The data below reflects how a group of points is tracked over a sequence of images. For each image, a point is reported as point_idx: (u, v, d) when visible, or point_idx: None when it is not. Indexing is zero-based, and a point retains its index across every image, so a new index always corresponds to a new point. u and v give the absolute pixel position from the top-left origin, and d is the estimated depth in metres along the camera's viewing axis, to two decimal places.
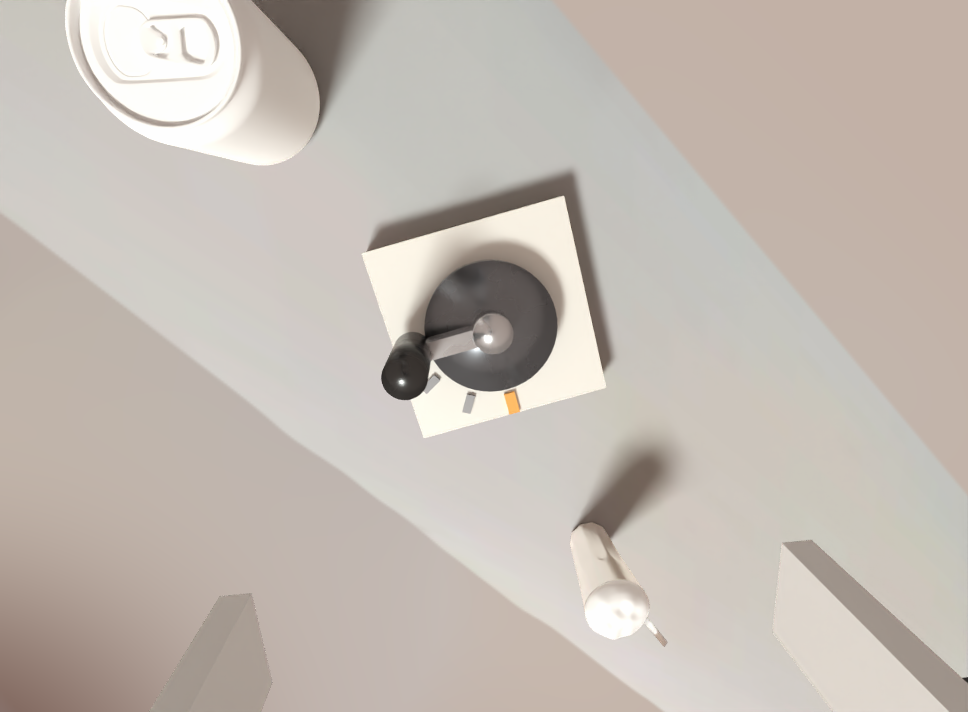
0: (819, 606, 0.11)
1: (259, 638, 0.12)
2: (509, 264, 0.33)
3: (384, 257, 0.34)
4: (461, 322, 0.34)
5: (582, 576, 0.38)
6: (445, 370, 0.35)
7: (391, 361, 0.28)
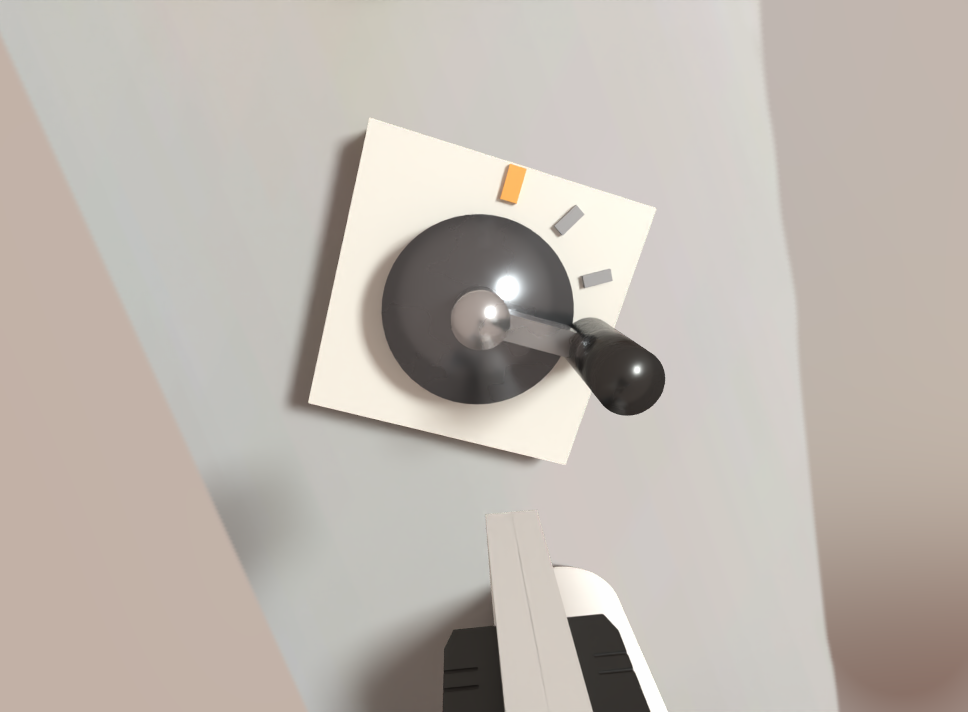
0: None
1: None
2: (411, 376, 0.24)
3: (545, 448, 0.28)
4: (509, 343, 0.24)
5: None
6: (568, 295, 0.24)
7: (629, 413, 0.19)
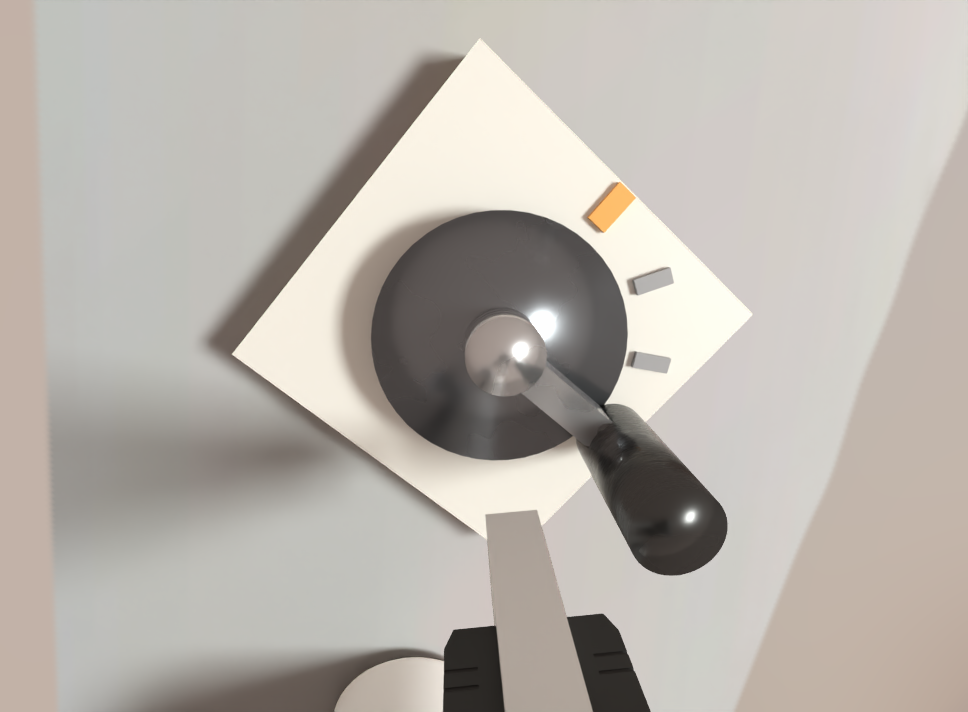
0: None
1: None
2: (381, 382, 0.18)
3: None
4: (520, 395, 0.18)
5: None
6: (615, 370, 0.18)
7: (657, 570, 0.14)
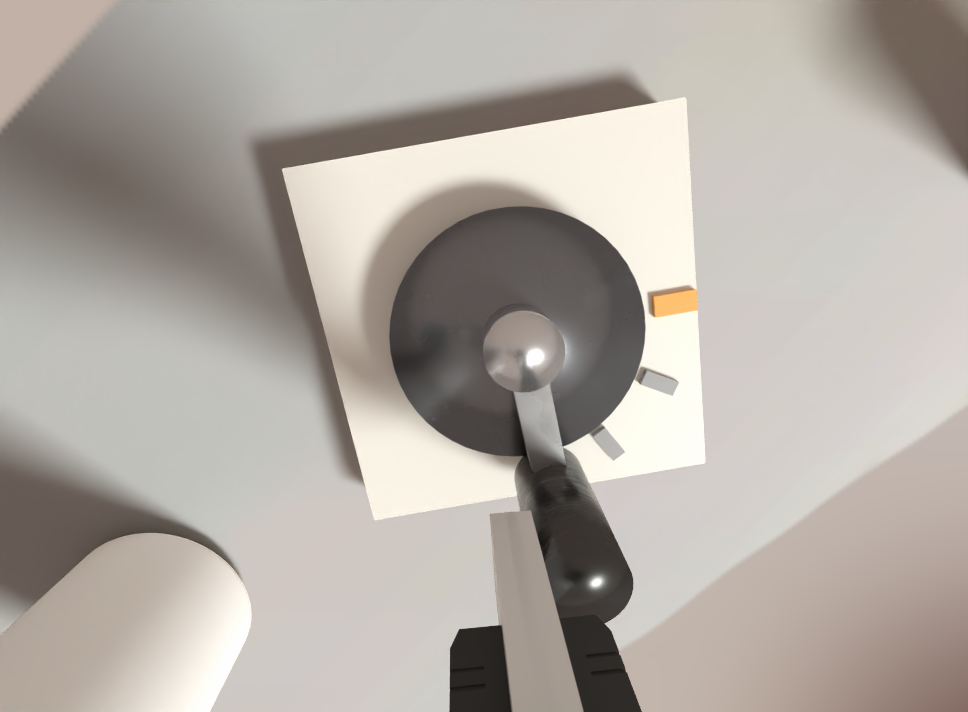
0: None
1: None
2: (395, 302, 0.17)
3: (382, 488, 0.21)
4: (502, 393, 0.18)
5: None
6: (591, 424, 0.19)
7: None
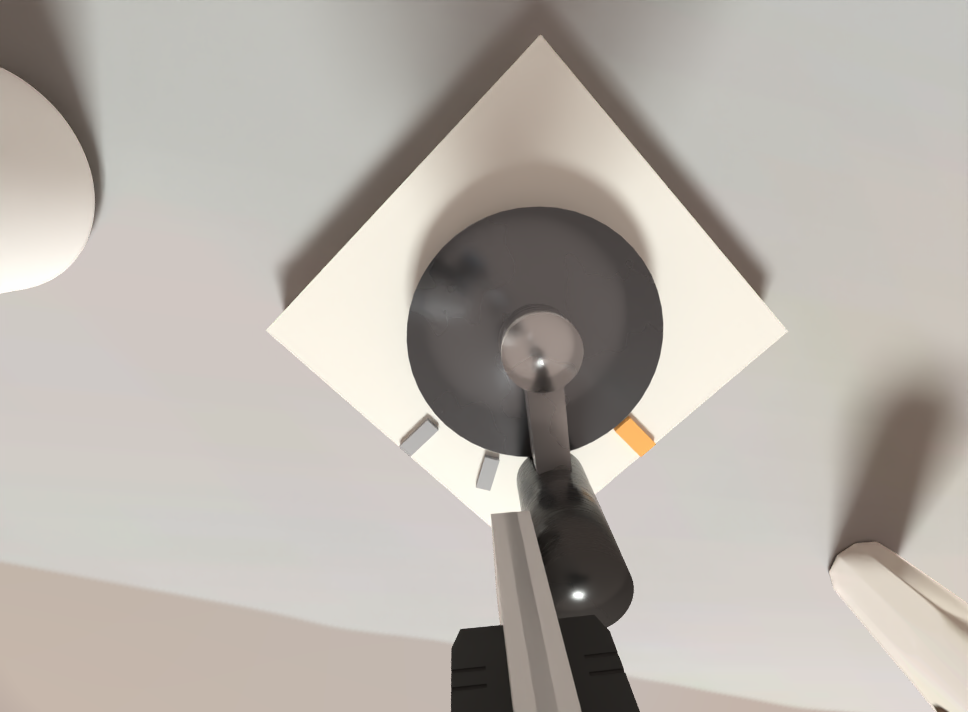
0: None
1: None
2: (417, 291, 0.17)
3: (303, 316, 0.19)
4: (514, 392, 0.18)
5: (914, 671, 0.20)
6: (598, 432, 0.19)
7: None
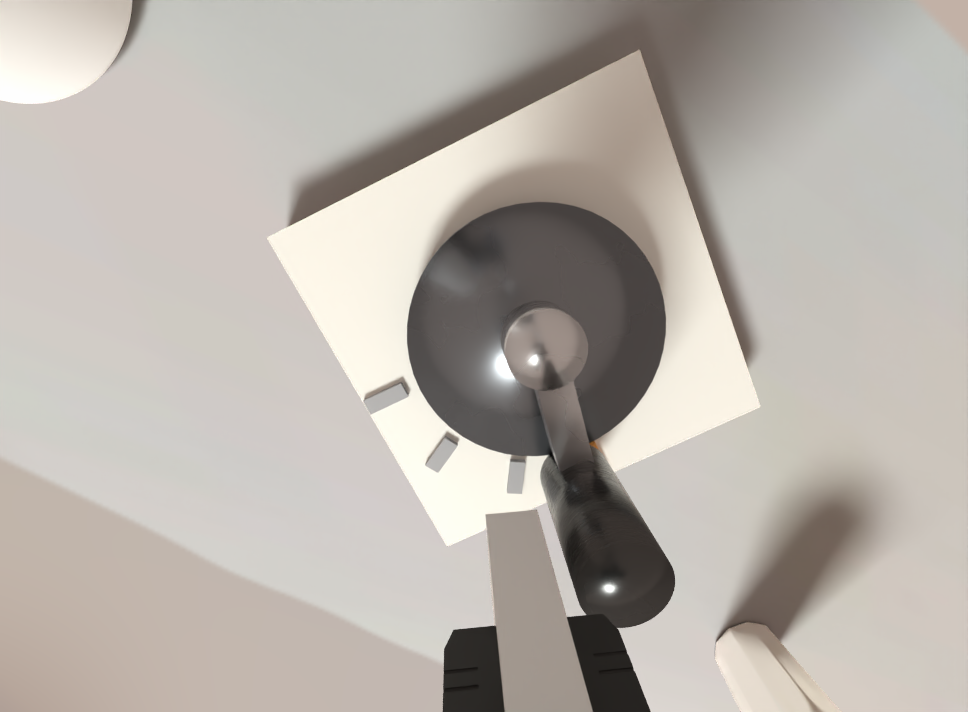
0: None
1: None
2: (411, 307, 0.17)
3: (311, 237, 0.18)
4: (524, 393, 0.18)
5: None
6: (615, 419, 0.19)
7: (587, 611, 0.13)
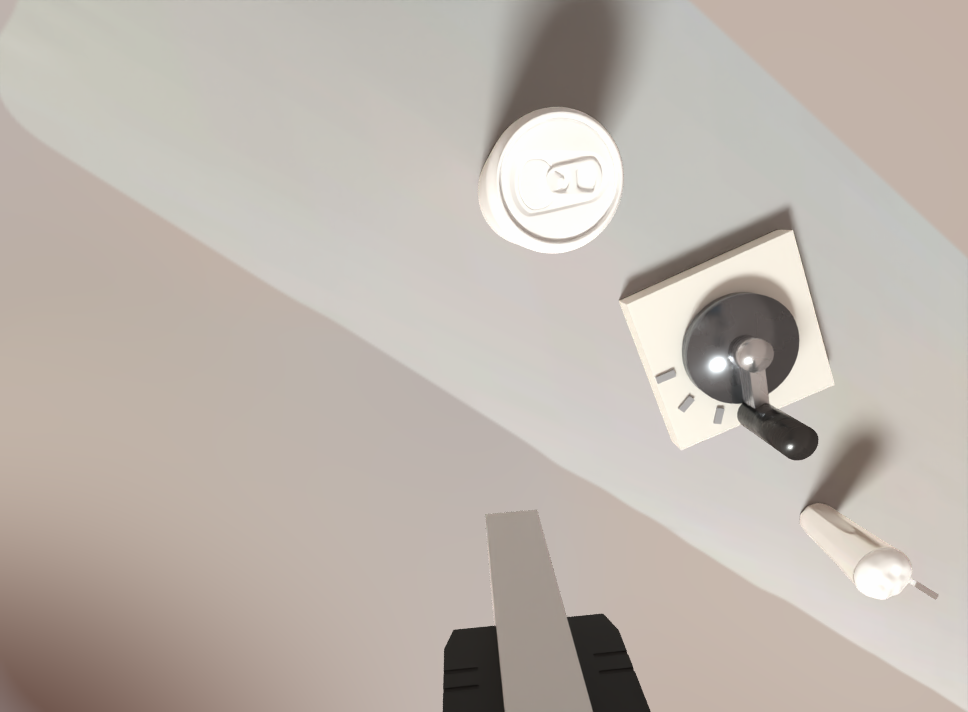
0: None
1: None
2: (693, 336, 0.40)
3: (645, 304, 0.41)
4: (735, 374, 0.41)
5: (837, 549, 0.44)
6: (773, 387, 0.41)
7: (785, 452, 0.36)
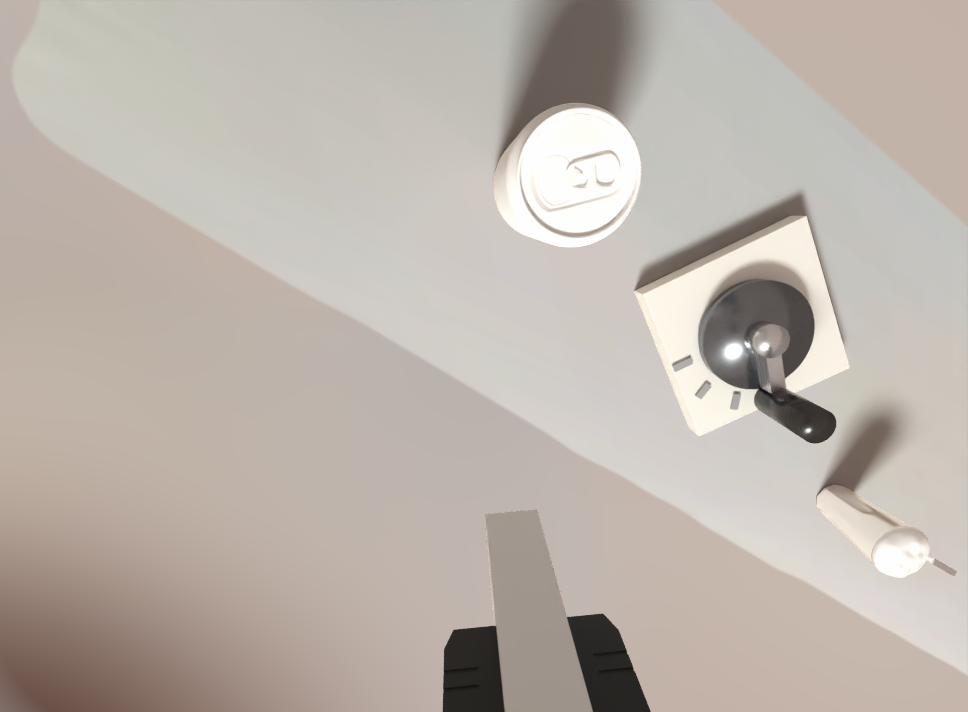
0: None
1: None
2: (709, 324, 0.41)
3: (661, 294, 0.41)
4: (751, 360, 0.42)
5: (855, 530, 0.44)
6: (789, 372, 0.42)
7: (803, 436, 0.37)
